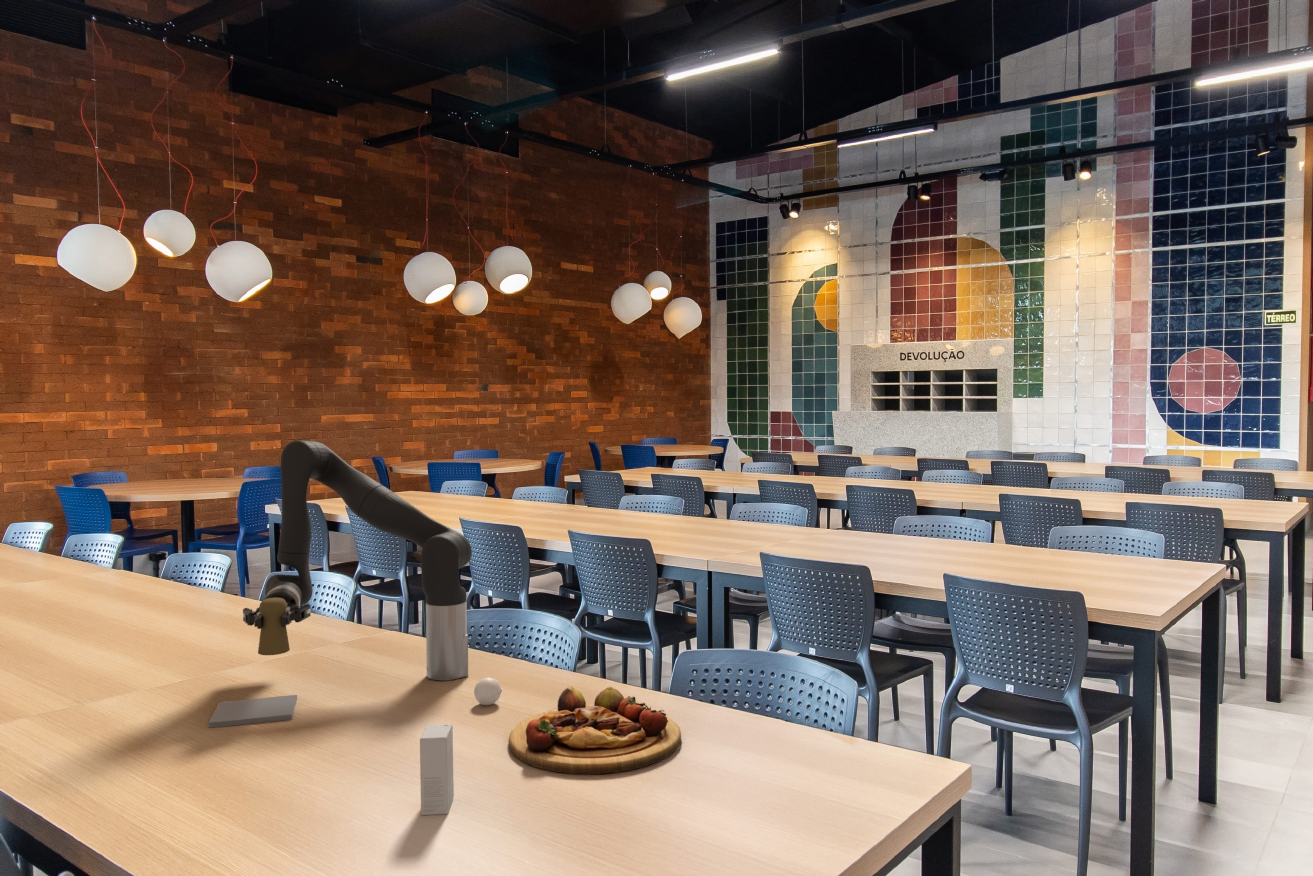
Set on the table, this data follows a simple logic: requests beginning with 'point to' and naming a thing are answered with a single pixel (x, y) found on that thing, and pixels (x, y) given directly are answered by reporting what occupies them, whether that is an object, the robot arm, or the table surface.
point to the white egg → (487, 691)
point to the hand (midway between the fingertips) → (271, 623)
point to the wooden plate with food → (595, 735)
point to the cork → (273, 627)
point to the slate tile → (253, 711)
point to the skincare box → (436, 769)
